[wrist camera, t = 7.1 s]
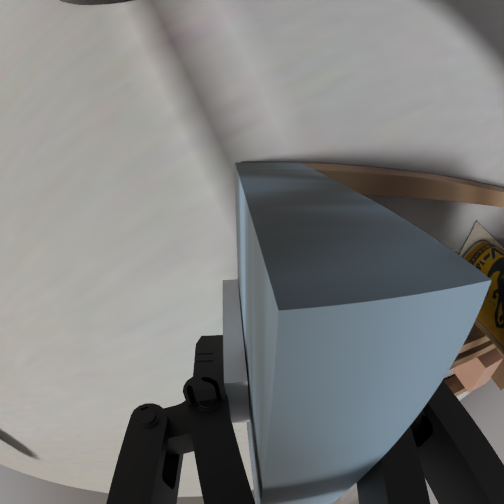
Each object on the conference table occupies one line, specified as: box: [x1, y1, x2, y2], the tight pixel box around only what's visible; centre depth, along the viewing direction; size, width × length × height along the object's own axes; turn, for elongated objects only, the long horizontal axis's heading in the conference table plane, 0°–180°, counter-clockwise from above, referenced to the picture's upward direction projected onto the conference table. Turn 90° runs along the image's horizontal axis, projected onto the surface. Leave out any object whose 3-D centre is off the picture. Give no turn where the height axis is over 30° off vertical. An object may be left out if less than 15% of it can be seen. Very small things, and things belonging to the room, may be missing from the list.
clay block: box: [453, 348, 503, 393], centre depth 21 cm, size 4×4×4 cm
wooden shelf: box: [235, 162, 504, 504], centre depth 11 cm, size 26×14×11 cm, turn 90°
